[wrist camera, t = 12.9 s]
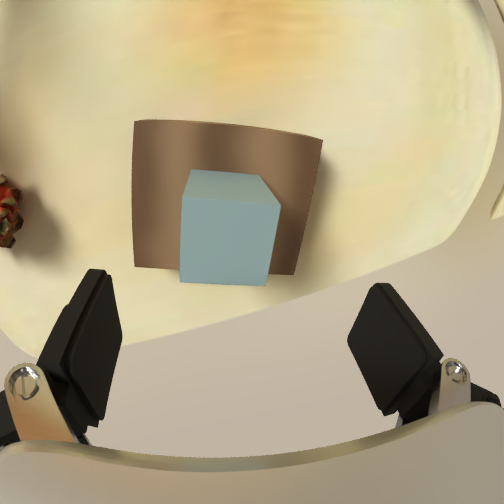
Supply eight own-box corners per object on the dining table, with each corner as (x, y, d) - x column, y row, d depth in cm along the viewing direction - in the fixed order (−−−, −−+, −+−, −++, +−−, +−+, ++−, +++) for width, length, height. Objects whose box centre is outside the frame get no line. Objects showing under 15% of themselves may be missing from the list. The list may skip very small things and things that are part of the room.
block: (259, 175, 20) (281, 205, 14) (249, 235, 23) (265, 286, 16) (191, 169, 19) (182, 197, 13) (187, 231, 22) (179, 282, 16)
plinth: (306, 135, 23) (322, 140, 20) (283, 253, 28) (293, 274, 25) (146, 119, 20) (134, 121, 17) (143, 245, 26) (134, 266, 22)
